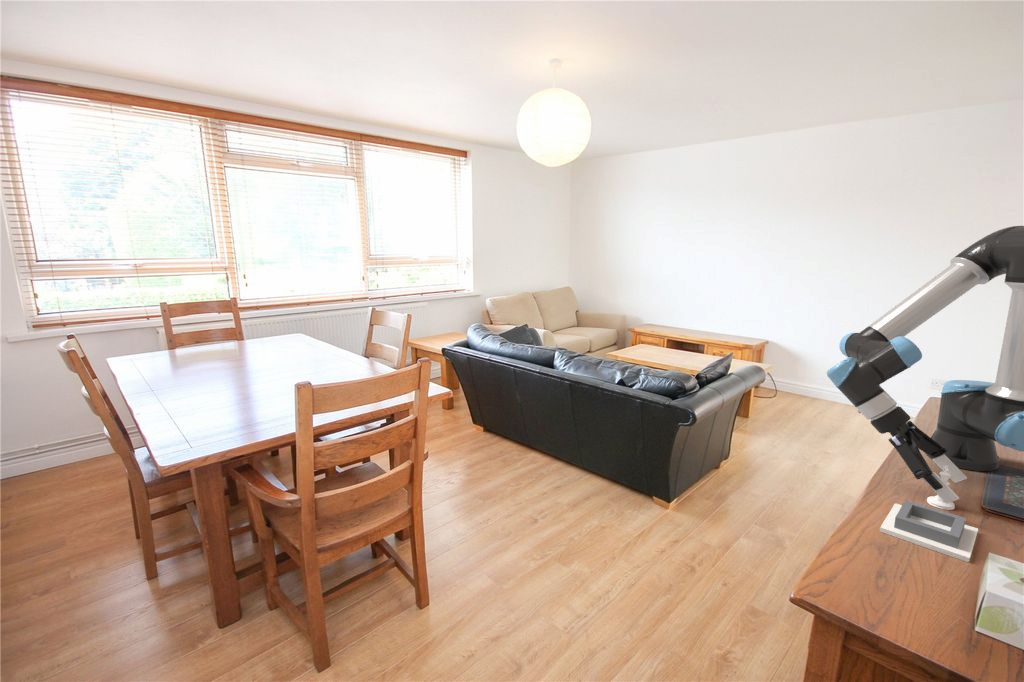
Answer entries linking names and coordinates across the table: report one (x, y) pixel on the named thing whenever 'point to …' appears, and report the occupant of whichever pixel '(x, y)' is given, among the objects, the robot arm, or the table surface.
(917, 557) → the table surface
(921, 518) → the socket board
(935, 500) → the chess piece
